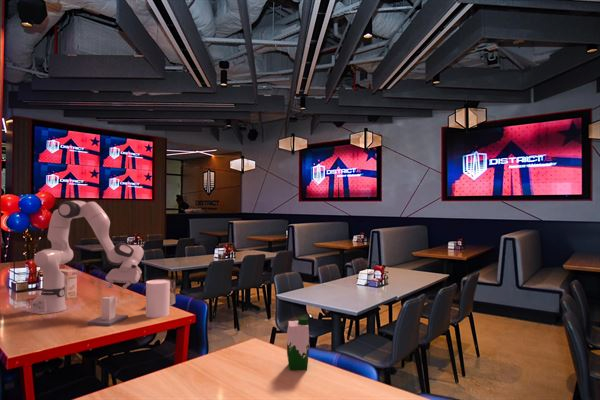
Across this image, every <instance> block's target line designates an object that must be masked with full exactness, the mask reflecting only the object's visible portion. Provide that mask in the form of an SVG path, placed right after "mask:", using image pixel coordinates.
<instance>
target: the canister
mask: <svg viewBox="0 0 600 400" xmlns="http://www.w3.org/2000/svg"><path fill="white" fill-rule="evenodd" d="M169 280H170V279H151V280H147V281H146V282H145V283H146V285H145V317H146V318H153V319H159V318H164V317H167V316H169V315H170V306H169V305H170V281H169Z"/></svg>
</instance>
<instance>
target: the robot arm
mask: <svg viewBox="0 0 600 400" xmlns="http://www.w3.org/2000/svg"><path fill="white" fill-rule="evenodd" d="M79 218H85V220H86V221H87V222H88V224H89V226H90V227H91V229H92V231H93V232H94V234H95V237H96V238H97V241H98V242H99V244H100V246H101V248H102V249H103V251H104V253H105V256H106V261H107V263H109V265H112V266H119V267H115V268H112V269H111V270H110V271H108V273H107V274H106V275H105V280H106V282H108V286H107V287H108V288H109V289H113V287H114V285H113V284H114V283H120V284H122V283H124V284H123V286H122V289H123V290H126V289H127V288H128V287H129V286H130V285H131V284H137V283H139V280H140V278H141V274H142V273H143V271H142V269H141V268H140V267H139V266H138V265H139V264H140V262H141V261H142V259H143V257H144V252H145V251H144V248H142V247H141V246H140V245H139V244H133V245H132V244H127V243H126V242H117V244H115V245H114V243H113V241H112V240H111V238H110V234H109V233H110V226H111V221H110V218H109V216H108V215H107V213H106V212H105V210H103V208H102V206H100V205H99V204H98V203H97V202H96V201H85V200H66V201H63V202H61V203H60V204H59V205H58V208H57V209H55V210H53V212H52V214H51V218H50V220H49V225H48V231H47V239H48V241H50V243H51V248H44V249H41V251H37V252H36V253H35V255H34V257H33V261H34V264H35V265H36V266H37V267H39V268H40V271H41V272H42V277H43V284H42V285H43V288H41V289H40V294H39V295H38V296H37V297H36V298H34V299H33V300H31V303H30V308H27V309H26V310H25V313H31V314H36V315H37V314H38V315H45V314H53V313H59V312H64V311H66V310H67V308H68V307H67V303H66V299H65V295H64V294H65V286H64V274H63V273H62V272H61V271H60V265H64V264H66V263H69V262H70V261H72V259H73V258H74V251H73V249H71V247H70V244H69V235H70V228H71V222H72V220H73V219H79Z"/></svg>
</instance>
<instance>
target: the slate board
mask: <svg viewBox="0 0 600 400" xmlns="http://www.w3.org/2000/svg"><path fill="white" fill-rule="evenodd" d="M101 317H102V315H101V316H98V317H96V318H93V319H91V320H88V321H87V325H91V326H103V327H111V326H113V325H115V324H118V323H120V322H122V321H124V320H126V319H128V318H129V314H116V313H115V318H113V319H110V320H104V319H101Z"/></svg>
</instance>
